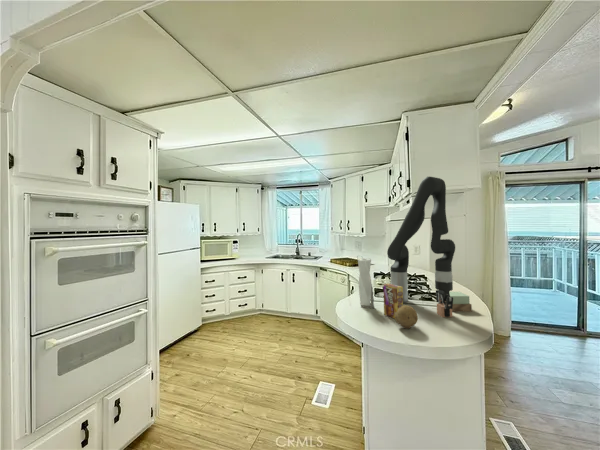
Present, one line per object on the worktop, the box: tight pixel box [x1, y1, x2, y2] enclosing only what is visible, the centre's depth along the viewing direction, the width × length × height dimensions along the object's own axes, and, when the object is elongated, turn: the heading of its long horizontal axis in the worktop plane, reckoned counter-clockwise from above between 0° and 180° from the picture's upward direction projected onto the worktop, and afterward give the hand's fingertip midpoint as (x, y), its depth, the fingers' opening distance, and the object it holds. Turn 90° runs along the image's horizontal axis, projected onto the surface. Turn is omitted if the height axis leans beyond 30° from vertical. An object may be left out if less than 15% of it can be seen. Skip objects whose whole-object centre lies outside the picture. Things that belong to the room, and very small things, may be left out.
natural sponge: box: [394, 304, 419, 330], centre depth 110 cm, size 9×9×10 cm
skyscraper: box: [356, 255, 375, 309], centre depth 143 cm, size 8×8×28 cm
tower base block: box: [445, 301, 473, 313], centre depth 134 cm, size 10×10×4 cm
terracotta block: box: [436, 303, 453, 318], centre depth 125 cm, size 5×5×5 cm
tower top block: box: [449, 291, 471, 304], centre depth 135 cm, size 9×9×4 cm
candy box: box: [383, 283, 404, 319], centre depth 125 cm, size 9×4×15 cm, turn 26°
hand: (444, 314), depth 125 cm, fingers open, 5 cm apart
